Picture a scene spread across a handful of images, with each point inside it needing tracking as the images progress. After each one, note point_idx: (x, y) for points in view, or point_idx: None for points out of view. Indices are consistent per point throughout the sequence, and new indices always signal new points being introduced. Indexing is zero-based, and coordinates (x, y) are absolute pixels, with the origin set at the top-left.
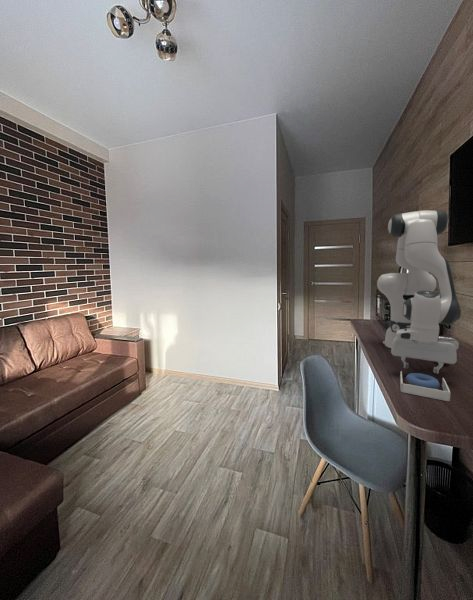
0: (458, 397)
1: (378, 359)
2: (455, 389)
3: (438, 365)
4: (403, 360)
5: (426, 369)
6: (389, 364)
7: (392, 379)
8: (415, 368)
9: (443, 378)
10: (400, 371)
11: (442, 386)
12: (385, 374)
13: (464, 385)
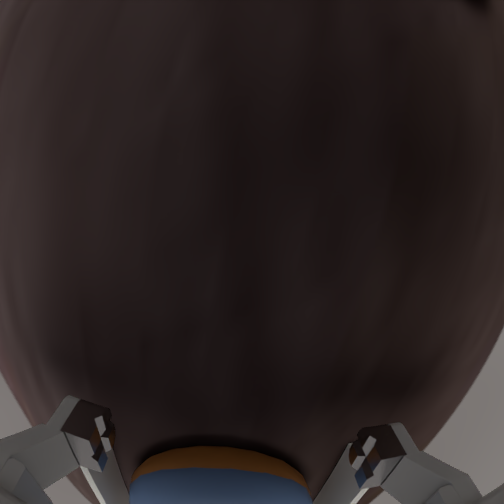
0: None
1: (2, 23)
2: None
3: (421, 482)
4: (41, 485)
5: (366, 76)
6: (28, 88)
7: None
8: (256, 75)
9: (364, 490)
10: None
11: (341, 462)
12: (18, 367)
13: (478, 362)
